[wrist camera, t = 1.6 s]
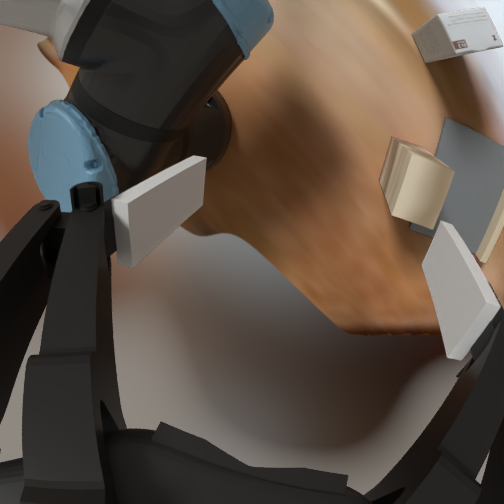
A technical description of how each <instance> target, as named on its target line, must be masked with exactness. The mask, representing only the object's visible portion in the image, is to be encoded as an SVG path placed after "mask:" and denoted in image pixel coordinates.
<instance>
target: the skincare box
mask: <svg viewBox="0 0 504 504" xmlns="http://www.w3.org/2000/svg"><path fill="white" fill-rule="evenodd" d="M412 36H413V38H414V40H415V42H416V44H417V46H418V48H419V50H420V52H421V54H422V57H423V59H424V61H425V63H428V62H433V61H438V60H443V59H448V58H452V57H457V56H461V55H465V54H470V53H474V52H479V51H484V50H489V49H495V48H500V47H503V44H502V42H501V39H500V37H499V35H498V33H497V31H496V28H495V26H494V24H493V22H492V20H491V18H490V16H489V14H488V13H487V11H486V9H485V8H484V7H480V8H472V9H465V10H458V11H452V12H447V13H442V14H437V15H436V16H434V17H433V18H432V19H430V20H429V21H427V22H426V23H425V24H424V25H422V26H421V27H420V28H418V29H417V30H416V31H415V32H413V33H412Z"/></svg>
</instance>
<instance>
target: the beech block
mask: <svg viewBox="0 0 504 504" xmlns="http://www.w3.org/2000/svg"><path fill="white" fill-rule="evenodd" d="M454 173H455V171H454V170H452V169H451V168H450V167H448V166H447V165H446V164H445V163H443V162H442V161H441V160H439V159H438V158H437V157H435V156H434V155H433V154H431V153H430V152H428V151H427V150H426V149H424V148H422V147H420V146H417V145H414V144H412V143H409V142H406V141H404V140H401V139H398V138H395V137H392V136H391V140H390V143H389V147H388V151H387V154H386V158H385V161H384V165H383V168H382V171H381V175H380V178H379V181H380V184H381V186H382V189H383V192H384V195H385V197H386V200H387V203H388V206H389V209H390V212H391V215H393V216H396V217H398V218H401V219H404V220H407V221H410V222H413V223H416V224H418V225H421V226H424V227H427V228H429V229H432V230H433V228H434V226H435V224H436V221H437V219H438V216H439V214H440V211H441V209H442V206H443V204H444V201H445V198H446V196H447V193H448V190H449V187H450V185H451V182H452V179H453V176H454Z"/></svg>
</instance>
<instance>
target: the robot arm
mask: <svg viewBox="0 0 504 504" xmlns="http://www.w3.org/2000/svg"><path fill="white" fill-rule="evenodd" d="M273 22H274V13H273V9H272V7H271V5H270V3H269V2H268V0H0V25H4V26H8V27H13V28H17V29H21V30H25V31H29V32H33V33H37V34H40V35H44V36H47V37H50V39H51V40H52V41H53V44H54V47H55V50H56V53H57V56H58V59H59V61H62V62H65V63H68V64H71V65H74V66H77V67H80V68H79V71H78V73H77V75H76V77H75V79H74V81H73V83H72V85H71V88H70V90H69V92H68V94H67V96H66V98H65V99H64V100H54V101H52V102H50V103H49V104H48V105H47V106H45V107H43V108H41V109H40V110H39V111H38V112H37V113H36V115H35V117H34V119H33V121H32V123H31V126H30V131H29V138H28V150H29V158H30V164H31V168H32V171H33V174H34V177H35V179H36V182H37V185H38V187H39V189H40V191H41V192H42V194H43V196H44V197H45V199H46V200H43V201H41V202H40V203H38V204H36V205H34V206H33V207H32V208H31V209H30V210H29V211H28V212H27V213H26V214H25V215H24V216H23V217H22V218H21V220H20V221H19V222H18V223H17V224H16V225H15V226H14V227H13V228H12V229H11V230H10V232H9V233H8V234H7V235H6V236H5V237H4V238H3V240H2V241H1V242H0V423H1V421H2V419H3V417H4V414H5V411H6V408H7V405H8V402H9V399H10V396H11V393H12V389H13V387H14V384H15V381H16V378H17V375H18V372H19V369H20V367H21V364H22V361H23V359H24V356H25V353H26V351H27V348H28V346H29V343H30V341H31V338H32V336H33V334H34V331H35V329H36V327H37V325H38V322H39V320H40V318H41V316H42V313H43V311H44V309H45V307H46V305H47V308H46V313H45V319H44V325H43V332H42V339H41V346H40V352H39V355H31V356H30V357H29V358H28V361H27V364H26V371H25V381H24V394H23V413H22V414H23V415H22V450H23V458H18V459H14V460H10V461H5V462H1V463H0V504H504V310H503V308H502V306H501V304H500V302H499V300H498V299H497V296H496V294H495V293H494V290H493V288H492V286H491V284H490V283H489V282H488V281H487V280H486V278H485V276H484V274H483V272H482V271H481V269H480V267H479V266H478V264H477V262H476V260H475V259H474V257H473V255H472V254H471V252H470V251H469V249H468V247H467V246H466V244H465V243H464V241H463V240H462V238H461V237H460V235H459V233H458V232H457V230H456V229H455V228H454V226H453V225H452V224H449V223H447V222H444V221H440V224H439V226H438V228H437V231H436V233H435V236H434V238H433V240H432V243H431V245H430V247H429V249H428V252H427V254H426V256H425V258H424V260H423V262H422V268H423V271H424V274H425V277H426V280H427V283H428V287H429V290H430V293H431V296H432V300H433V303H434V307H435V310H436V314H437V317H438V321H439V325H440V329H441V333H442V337H443V341H444V346H445V350H446V355H447V358H452V359H457V360H462V359H463V358H464V357H465V355H466V354H467V353H468V352H469V350H470V349H471V353H472V358H471V359H470V361H469V362H468V363H467V364H466V366H465V367H464V368H463V369H462V370H461V371H460V372H459V374H458V375H457V376H456V377H459V379H458V380H457V382H456V383H455V385H454V387H453V389H452V390H451V392H450V393H449V395H448V396H447V398H446V399H445V401H444V403H443V404H442V406H441V407H440V409H439V410H438V411H437V413H436V414H435V416H434V417H433V419H432V420H431V422H430V423H429V424H428V426H427V427H426V428H425V430H424V431H423V432H422V434H421V435H420V436H419V438H418V439H417V440H416V441H415V443H414V444H413V445H412V447H411V448H410V449H409V450H408V451H407V452H406V454H405V455H404V456H403V457H402V459H401V460H400V461H399V462H398V463H397V464H396V465H395V466H394V468H393V469H392V470H391V471H390V472H389V473H388V474H387V476H385V477H384V478H383V479H382V481H381V482H380V483H379V484H377V485H376V486H375V487H374V488H373V489H371V490H370V491H369V492H367V493H366V494H365V495H362V494H360V493H359V492H357V491H356V490H354V489H352V488H350V487H347V486H346V485H347V479H348V475H343V474H337V473H330V472H323V471H318V470H313V469H307V468H264V467H251V466H248V465H246V464H244V463H243V462H241V461H239V460H237V459H236V458H234V457H232V456H231V455H229V454H227V453H226V452H224V451H222V450H221V449H219V448H218V447H216V446H214V445H213V444H211V443H210V442H208V441H207V440H205V439H203V438H200V437H197V436H195V435H192V434H189V433H187V432H184V431H182V430H180V429H177V428H175V427H173V426H170V425H168V424H166V423H163V422H160V424H159V426H158V428H157V430H156V431H154V430H148V429H127V427H126V424H125V421H124V418H123V414H122V410H121V405H120V397H119V390H118V382H117V373H116V364H115V354H114V340H113V324H112V297H111V258H110V256H111V254H113V253H114V252H115V251H117V259H118V263H119V264H121V265H124V266H127V267H129V268H132V269H133V268H135V266H137V265H138V264H139V263H140V262H141V261H142V260H143V259H144V258H145V257H146V256H147V255H148V254H149V253H150V252H151V251H152V250H154V249H155V248H156V247H157V246H158V245H159V244H160V243H161V242H162V241H163V240H164V239H165V238H167V237H168V236H169V235H170V234H171V233H172V232H173V231H174V230H175V229H176V228H178V227H179V226H180V225H181V224H182V223H183V222H184V221H185V220H187V219H188V218H189V217H190V216H191V215H192V214H193V213H195V212H196V211H197V210H198V209H199V208H200V207H201V206H203V197H204V184H205V172H206V171H208V170H209V169H211V168H212V167H213V166H214V165H216V164H217V163H218V161H219V160H220V159H221V158H222V156H223V155H224V153H225V151H226V149H227V147H228V144H229V140H230V135H231V118H230V113H229V109H228V107H227V104H226V102H225V100H224V98H223V97H222V95H221V94H220V93H219V92H218V88H219V87H220V86H221V85H222V84H223V83H224V81H225V80H226V79H227V78H228V77H229V76H230V75H231V74H232V72H233V71H234V70H235V69H236V68H237V67H238V66H239V65H240V64H241V63H242V62H243V60H244V59H245V60H247V59H248V58H249V56H250V52H251V51H252V49H253V48H254V47H255V46H256V45H257V44H258V42H259V41H260V40H261V39H262V38H263V37H264V36H265V35H266V33H267V32H268V31H269V30H270V29H271V27H272V25H273ZM489 450H490V452H489ZM0 451H1V449H0ZM488 453H489V456H488V461H487V464H486V468H485V472H484V476H483V479H482V483H481V484H479V483H478V482H477V481H476V480H475V479H476V477H477V475H478V472H479V471H480V469H481V467H482V465H483V463H484V461H485V459H486V457H487V455H488Z"/></svg>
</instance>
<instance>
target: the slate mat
mask: <svg viewBox="0 0 504 504" xmlns="http://www.w3.org/2000/svg"><path fill="white" fill-rule="evenodd" d="M435 157H437V158H438V159H439V160H441V161H442V162H443V163H445V164H446V165H447V166H448V167H450V168H451V169H452V170H454V171H455V173H454V176H453V179H452V182H451V185H450V187H449V190H448V193H447V196H446V198H445V201H444V204H443V206H442V209H441V211H440V214H439V216H438V219H437V221H436V224H435V226H434V228H433V230H432V229H429V228H427V227H424V226H421V225H418V224H416V223H413V222H411V224H410V226H409V229H410V230H412V231H415V232H418V233H421V234H424V235H427V236H429V237H432V238H434V236H435V233H436V231H437V228H438V226H439V224H440V221H444V222H447V223H449V224H452V225H453V226H454V228H455V229H456V230H457V232H458V233H459V235H460V237H461V238H462V240H463V241H464V243H465V244H466V246H467V247H468V249H469V251H470V252H472V253H474V254H476V256H477V257H478V259H479V261H481V262H483V263H486V261H487V260H488V258H489V256H490V254H491V252H492V250H493V248H494V246H495V244H496V241H497V239H498V237H499V235H500V233H501V231H502V228H503V226H504V147H503V146H502V145H500V144H498V143H496V142H495V141H493V140H491V139H489V138H487V137H485V136H484V135H482V134H480V133H478V132H476V131H474V130H472V129H470V128H468V127H466V126H464V125H462V124H460V123H458V122H455V121H453V120H451V119H449V118H447V117H445V120H444V124H443V128H442V131H441V135H440V139H439V142H438V146H437V149H436V152H435Z"/></svg>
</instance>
